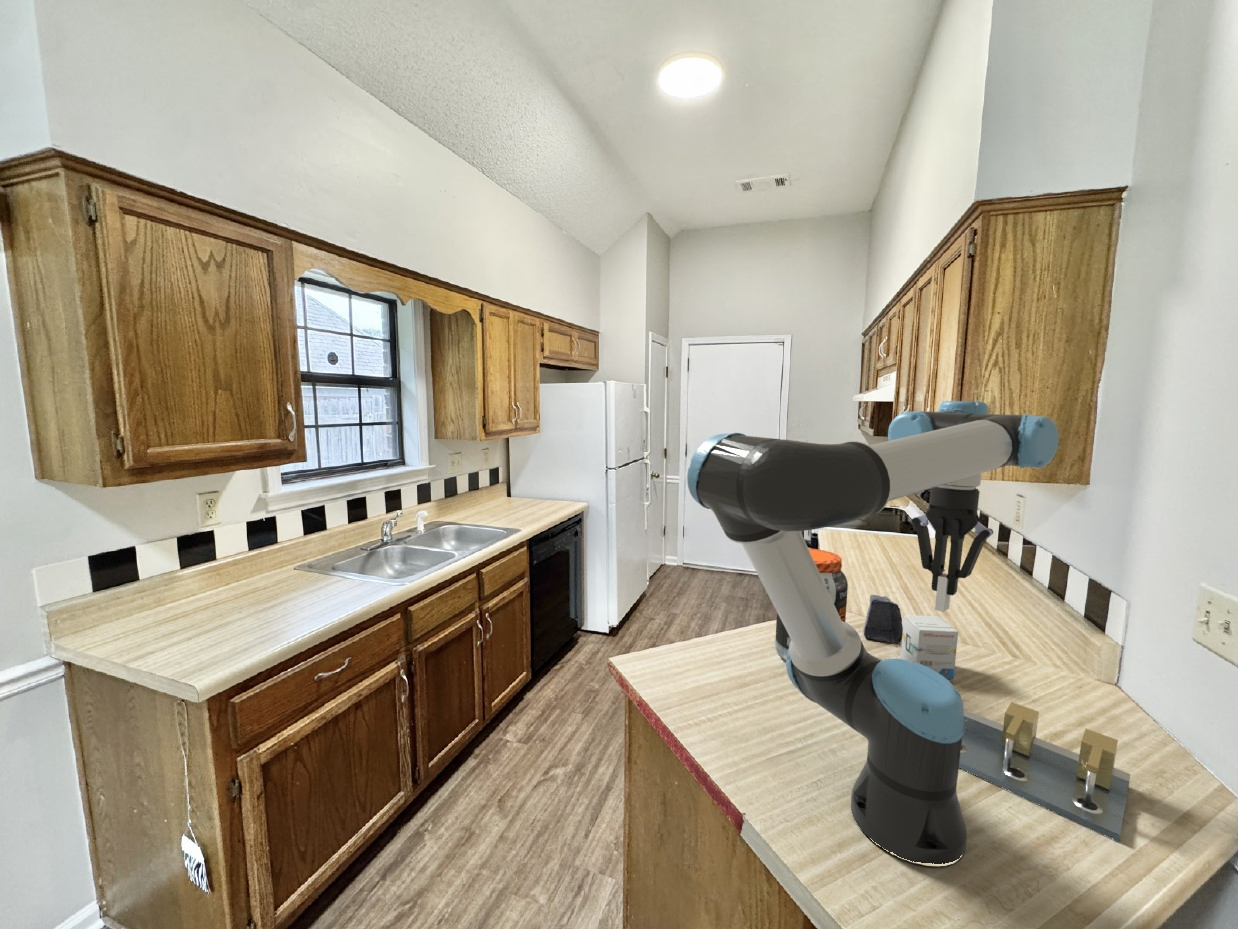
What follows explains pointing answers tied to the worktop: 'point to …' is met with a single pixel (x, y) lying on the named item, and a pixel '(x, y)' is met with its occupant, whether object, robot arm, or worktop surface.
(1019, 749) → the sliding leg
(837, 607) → the supplement tub
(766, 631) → the worktop surface
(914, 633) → the ink box
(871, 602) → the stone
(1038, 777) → the grey peg fixture
